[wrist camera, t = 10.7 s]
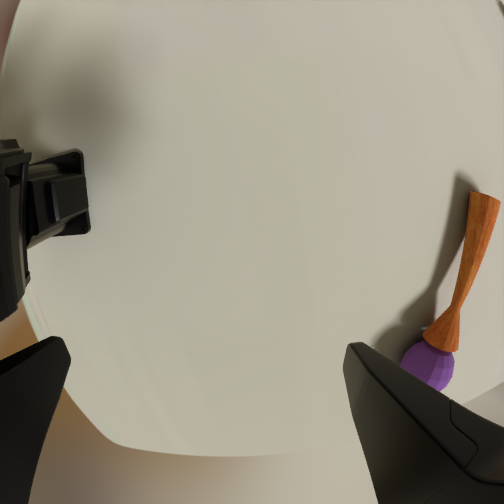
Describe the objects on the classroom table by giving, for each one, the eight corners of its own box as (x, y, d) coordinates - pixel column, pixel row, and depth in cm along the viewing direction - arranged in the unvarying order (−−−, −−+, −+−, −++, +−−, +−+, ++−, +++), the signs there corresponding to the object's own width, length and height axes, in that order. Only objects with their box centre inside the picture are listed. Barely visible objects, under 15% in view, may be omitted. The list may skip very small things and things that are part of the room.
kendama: (520, 212, 15) (445, 401, 20) (475, 200, 21) (415, 371, 26) (498, 193, 13) (410, 415, 18) (445, 183, 19) (379, 379, 24)
